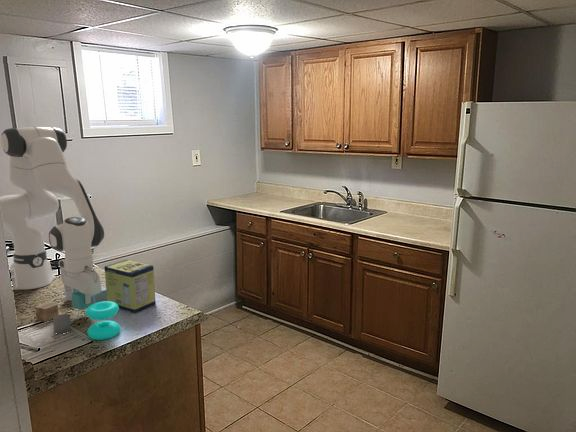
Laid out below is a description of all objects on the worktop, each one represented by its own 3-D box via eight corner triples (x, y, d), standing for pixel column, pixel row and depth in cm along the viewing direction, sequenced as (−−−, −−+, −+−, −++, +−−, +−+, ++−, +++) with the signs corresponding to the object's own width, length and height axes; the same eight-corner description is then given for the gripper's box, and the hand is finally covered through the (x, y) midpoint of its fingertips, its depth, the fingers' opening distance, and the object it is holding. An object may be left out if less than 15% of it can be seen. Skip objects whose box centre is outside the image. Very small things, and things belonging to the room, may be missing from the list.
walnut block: (36, 320, 161) (35, 306, 160) (49, 314, 165) (47, 301, 164) (45, 322, 159) (44, 309, 158) (58, 317, 163) (57, 304, 162)
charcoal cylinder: (51, 332, 152) (49, 317, 151) (66, 326, 156) (64, 312, 155) (59, 336, 149) (57, 321, 148) (74, 330, 153) (72, 316, 152)
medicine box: (75, 301, 178) (73, 280, 176) (65, 300, 179) (63, 279, 177) (88, 294, 185) (86, 273, 184) (78, 293, 186) (76, 273, 184)
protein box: (128, 296, 183) (125, 259, 180) (156, 304, 176) (154, 265, 172) (106, 305, 174) (103, 266, 171) (135, 313, 167) (132, 273, 164)
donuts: (87, 301, 152) (119, 298, 155) (89, 329, 154) (121, 326, 156) (83, 313, 142) (117, 310, 145) (85, 343, 144) (119, 339, 147)
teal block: (72, 306, 163) (71, 293, 162) (85, 302, 167) (84, 289, 166) (80, 310, 161) (78, 296, 160) (93, 305, 165) (92, 292, 164)
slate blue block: (90, 301, 178) (89, 289, 177) (103, 298, 181) (102, 286, 180) (95, 305, 174) (94, 292, 173) (108, 301, 178) (107, 289, 177)
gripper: (104, 267, 157) (107, 305, 160) (72, 256, 169) (75, 292, 172) (87, 272, 152) (90, 311, 155) (55, 260, 164) (59, 297, 167)
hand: (82, 301), depth 164 cm, fingers closed on teal block, 5 cm apart
